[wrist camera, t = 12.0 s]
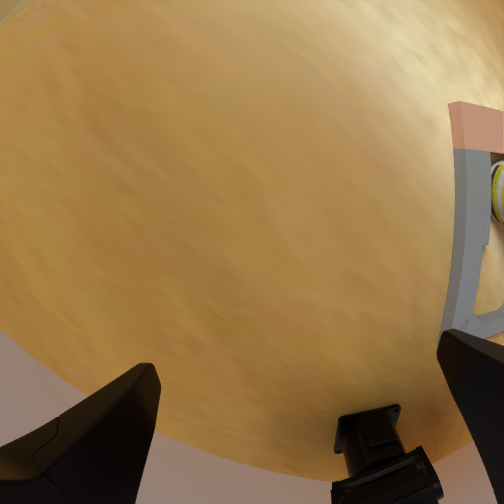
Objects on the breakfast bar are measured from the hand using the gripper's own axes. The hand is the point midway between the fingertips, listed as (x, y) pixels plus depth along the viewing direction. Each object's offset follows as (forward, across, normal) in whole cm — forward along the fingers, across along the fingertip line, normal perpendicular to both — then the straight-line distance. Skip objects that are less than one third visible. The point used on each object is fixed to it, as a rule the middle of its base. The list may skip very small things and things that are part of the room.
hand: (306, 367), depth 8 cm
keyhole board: (+12, -20, 0) cm, 23 cm away
